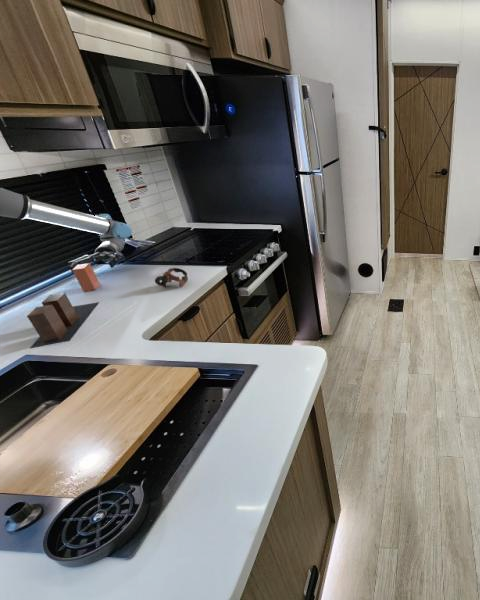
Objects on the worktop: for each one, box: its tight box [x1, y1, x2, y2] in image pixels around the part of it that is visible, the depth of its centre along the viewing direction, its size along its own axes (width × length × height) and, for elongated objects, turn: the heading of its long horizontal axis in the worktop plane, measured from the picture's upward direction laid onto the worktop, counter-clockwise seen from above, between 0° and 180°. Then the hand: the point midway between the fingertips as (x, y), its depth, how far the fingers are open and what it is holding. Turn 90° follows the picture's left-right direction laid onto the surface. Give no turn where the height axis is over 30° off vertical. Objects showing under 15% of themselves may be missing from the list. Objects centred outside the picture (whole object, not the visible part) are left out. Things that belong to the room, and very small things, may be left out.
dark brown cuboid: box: [26, 305, 68, 343], centre depth 105 cm, size 4×6×10 cm
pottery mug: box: [154, 267, 189, 288], centre depth 140 cm, size 12×10×8 cm
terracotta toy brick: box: [71, 263, 101, 293], centre depth 138 cm, size 4×6×10 cm
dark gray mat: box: [29, 301, 100, 349], centre depth 115 cm, size 28×10×1 cm, turn 23°
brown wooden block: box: [41, 292, 79, 327], centre depth 113 cm, size 4×6×10 cm
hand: (91, 267), depth 144 cm, fingers open, 13 cm apart
